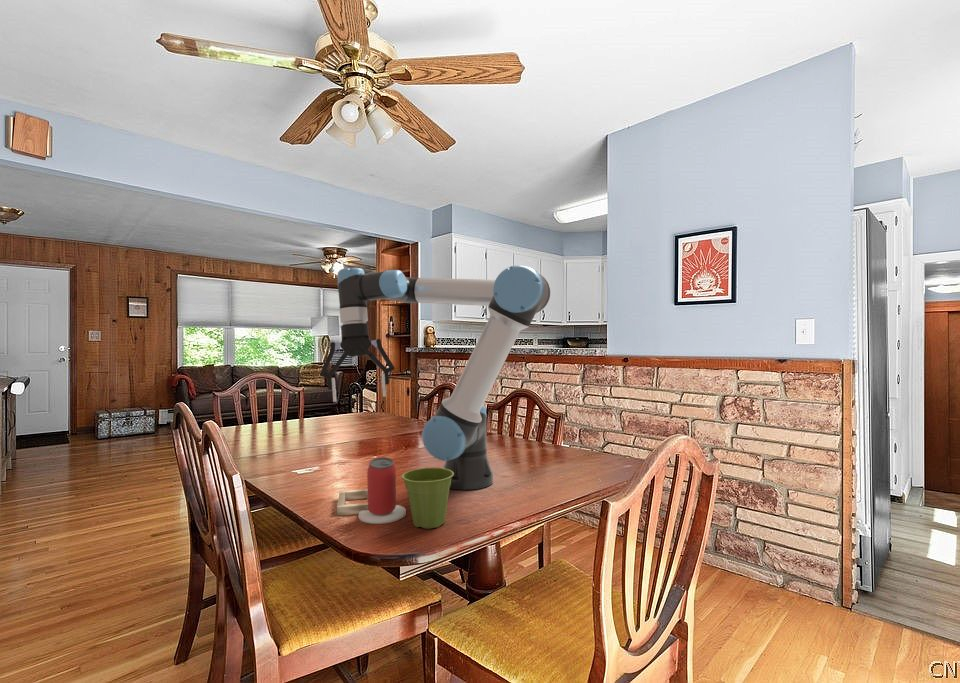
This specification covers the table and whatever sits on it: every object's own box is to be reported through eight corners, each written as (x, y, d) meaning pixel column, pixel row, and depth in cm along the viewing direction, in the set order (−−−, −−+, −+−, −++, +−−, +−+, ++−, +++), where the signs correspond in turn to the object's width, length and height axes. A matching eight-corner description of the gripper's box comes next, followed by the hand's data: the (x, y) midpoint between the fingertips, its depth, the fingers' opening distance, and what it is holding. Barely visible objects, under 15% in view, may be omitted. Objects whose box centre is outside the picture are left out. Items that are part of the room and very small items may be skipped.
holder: (389, 494, 132) (389, 487, 132) (392, 510, 120) (392, 502, 120) (339, 498, 129) (339, 491, 129) (337, 515, 117) (337, 507, 117)
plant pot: (434, 510, 120) (433, 464, 120) (465, 523, 111) (464, 474, 111) (392, 522, 112) (391, 473, 112) (421, 538, 103) (421, 484, 103)
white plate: (403, 505, 123) (403, 502, 123) (407, 521, 113) (407, 517, 113) (358, 509, 121) (358, 506, 121) (358, 525, 110) (358, 522, 110)
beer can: (389, 518, 113) (389, 470, 111) (362, 514, 114) (362, 466, 112) (399, 503, 119) (400, 458, 117) (374, 500, 121) (374, 454, 118)
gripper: (397, 322, 145) (403, 393, 144) (309, 327, 139) (314, 402, 138) (400, 319, 138) (406, 395, 137) (306, 325, 132) (312, 404, 131)
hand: (360, 399), depth 138 cm, fingers open, 13 cm apart
